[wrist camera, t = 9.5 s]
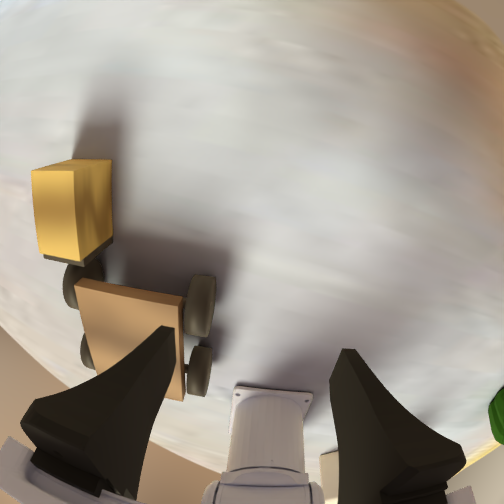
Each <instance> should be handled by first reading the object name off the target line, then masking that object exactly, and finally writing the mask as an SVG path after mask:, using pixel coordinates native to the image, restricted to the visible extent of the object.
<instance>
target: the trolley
mask: <svg viewBox="0 0 504 504" xmlns="http://www.w3.org/2000/svg"><path fill="white" fill-rule="evenodd" d="M63 295H64V299H65V301H66V303H67V305H68V306H69V307H71V308H74V309H78V310H79V311H80V315H81V319H82V323H83V327H84V331H85V333H84V335H83V338H82V341H81V348H80V354H81V360H82V362H83V364H84V365H85V366H86V367H88V368H91V369H94V370H96V372H97V375H99V374H101V373H102V372H104V371H106V370H107V369H109V368H110V367H112V366H113V365H115V364H116V363H117V362H119V361H120V360H121V359H123V358H124V357H125V356H126V355H128V354H129V353H130V352H131V351H133V350H134V349H135V348H136V347H137V346H138V345H140V344H141V343H142V342H143V341H144V340H145V339H146V338H147V337H149V336H150V335H151V334H152V333H153V332H154V331H155V330H156V329H157V328H158V327H159V326H161V325H163V326H168V327H173V328H175V344H176V365H175V369H174V373H173V376H172V380H171V382H170V385H169V387H168V390H167V392H166V394H165V397H164V398H168V399H172V400H177V401H182V402H183V399H184V396H185V393H186V386H185V373H187V393H188V394H191V395H197V396H202V397H205V395H206V393H207V389H208V385H209V379H210V373H211V366H212V348H207V347H201V346H194V348H193V350H192V353H191V357H190V361H189V365H188V364H184V341H183V309H185V314H184V327H185V332H186V334H190V335H195V336H201V337H207V336H208V334H209V331H210V328H211V323H212V318H213V313H214V306H215V297H216V278H215V277H211V276H204V275H197V274H195V275H194V276H193V278H192V280H191V282H190V285H189V289H188V293H187V298H184V297H183V296H176V295H171V294H165V293H159V292H153V291H148V290H142V289H137V288H132V287H126V286H121V285H116V284H111V283H106V282H104V274H103V268H102V265H101V263H100V261H99V260H98V259H96V258H94V259H93V260H92V261H91V262H89V263H88V264H87V265H86V266H85V267H82V266H78V265H73V264H68V266H67V268H66V271H65V274H64V278H63Z"/></svg>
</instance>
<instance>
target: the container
mask: <svg viewBox="0 0 504 504" xmlns="http://www.w3.org/2000/svg"><path fill="white" fill-rule="evenodd" d="M319 463H320V477H321V488H322V489H323V493H324V500H325V503H326V504H337V502H338V487H339V454H338V451H336V452H332V453H328V454H324V455H321V456H320V457H319Z"/></svg>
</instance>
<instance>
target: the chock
mask: <svg viewBox="0 0 504 504" xmlns="http://www.w3.org/2000/svg"><path fill="white" fill-rule="evenodd" d="M31 180H32V196H33V207H34V217H35V225H36V233H37V240H38V246H39V252H40V253H41V254H43V255H44V258H45V259H49V260H54V261H59V262H63V263H68V264H73V265H78V266H82V267H85V266H86V265H87V264H88V263H89V262H91V261H92V260H93V259H94V258H95V257H96V256H97V255H99V254H100V253H101V252H102V251H103V250H105V249H106V248H107V247H108V246H109V245H111V244H112V243H113V239H112V236H113V226H112V160H102V159H71V160H67V161H63V162H59V163H56V164H52V165H49V166H45V167H42V168H38V169H35V170H32V171H31Z"/></svg>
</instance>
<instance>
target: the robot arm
mask: <svg viewBox="0 0 504 504" xmlns="http://www.w3.org/2000/svg"><path fill="white" fill-rule="evenodd" d="M175 365H176V344H175V328H173V327H168V326H163V325H161V326H159V327H158V328H157V329H156V330H155V331H154V332H153V333H152V334H151V335H150V336H149V337H147V338H146V339H145V340H144V341H143V342H142V343H141V344H140V345H138V346H137V347H136V348H135V349H134V350H133V351H131V352H130V353H129V354H128V355H126V356H125V357H124V358H123V359H121V360H120V361H119V362H117V363H116V364H115V365H113V366H112V367H110V368H109V369H107V370H106V371H104V372H102V373H101V374H99V375H97V376H96V377H94V378H92V379H90V380H88V381H86V382H84V383H82V384H80V385H78V386H76V387H73V388H71V389H68V390H66V391H63V392H60V393H57V394H54V395H50V396H46V397H43V398H39V399H35V400H34V401H33V403H32V404H31V405H30V407H29V409H28V410H27V412H26V413H25V415H24V416H23V418H22V420H21V422H20V424H21V427H22V429H23V431H24V432H25V433H26V435H27V436H28V437H29V439H30V440H31V441H32V442H33V443H34V445H35V446H36V447H37V448H36V450H35V452H33V451H32V450H30V449H29V448H28V447H26V446H24V445H23V444H21V443H20V442H18V441H17V440H15V439H13V438H12V437H10V436H8V438H7V440H6V441H5V443H4V445H3V446H2V448H1V450H0V489H2V490H3V491H4V492H6V493H7V494H8V495H10V496H11V497H12V498H14V499H15V500H17V501H18V502H20V503H21V504H145V503H141V502H138V501H136V499H137V492H138V487H139V481H140V475H141V470H142V466H143V461H144V456H145V453H146V448H147V444H148V441H149V437H150V433H151V430H152V426H153V424H154V421H155V418H156V416H157V413H158V411H159V409H160V406H161V404H162V402H163V399H164V397H165V394H166V392H167V390H168V387H169V385H170V382H171V380H172V376H173V373H174V369H175ZM329 383H330V401H331V407H332V412H333V418H334V424H335V429H336V435H337V441H338V454H339V487H338V502H337V504H476V502H475V498H474V495H473V491H472V488H471V486H467V487H464V488H462V489H459V490H456V491H454V492H452V493H449V494H447V495H445V491H444V490H446V489H447V488H448V486H447V482H446V481H448V480H449V479H450V478H451V477H453V476H454V475H455V474H456V473H458V472H459V471H460V470H461V469H462V468H463V467H464V466H465V464H466V458H465V455H464V453H463V450H462V447H461V445H460V444H458V443H456V442H454V441H452V440H450V439H448V438H446V437H444V436H442V435H440V434H439V433H437V432H435V431H434V430H432V429H431V428H429V427H428V426H426V425H425V424H424V423H422V422H421V421H420V420H418V419H417V418H416V417H415V416H413V415H412V414H411V413H410V412H409V411H408V410H406V409H405V408H404V407H403V406H402V405H401V404H400V403H399V402H398V401H397V400H396V399H395V398H394V397H393V396H392V395H391V394H390V392H389V391H388V390H387V389H386V388H385V387H384V386H383V384H382V383H381V382H380V381H379V380H378V378H377V377H376V376H375V375H374V373H373V372H372V371H371V369H370V368H369V367H368V365H367V364H366V363H365V361H364V360H363V359H362V357H361V356H360V355H359V353H358V352H357V351H356V350H355V349H343V348H342V350H341V353H340V355H339V358H338V360H337V363H336V365H335V368H334V370H333V372H332V375H331V377H330V380H329ZM312 399H313V394H312V393H306V392H291V391H279V390H268V389H259V388H250V387H242V386H236V387H234V390H233V398H232V406H231V415H230V423H229V431H228V433H229V434H230V435H231V441H230V449H229V456H228V463H227V470H226V472H222V474H221V481H217V480H215V481H213V482H212V483H211V484H210V485H208V486H207V487H206V489H205V491H204V494H203V498H202V503H201V504H325V500H324V493H323V489H322V488H321V487H320V486H319V485H318V484H317V483H316V482H309V479H308V473H305V459H304V438H303V420H304V417H305V415H306V413H307V411H308V408H309V406H310V404H311V402H312Z"/></svg>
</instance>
